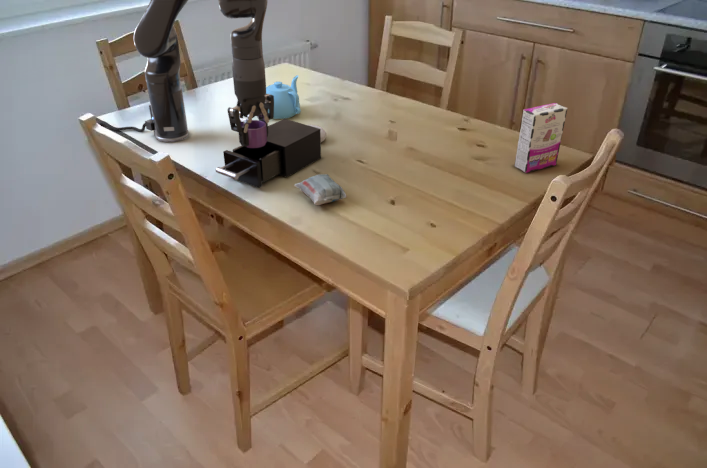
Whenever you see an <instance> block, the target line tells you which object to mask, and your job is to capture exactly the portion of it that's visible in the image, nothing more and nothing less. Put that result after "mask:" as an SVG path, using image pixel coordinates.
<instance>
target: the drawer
mask: <svg viewBox="0 0 707 468" xmlns="http://www.w3.org/2000/svg"><path fill="white" fill-rule="evenodd" d="M222 153H223V161H224V165H223V166H221V167H220V166H217V167H216V168H215V172H216V173H217V174H220V175H223V176H225V177H228V178H230V179H233V180H237V181H238V182H242V183H244V184H247V185H250V186H252V187H255V188H257V189H260V188H261V187H263V183H265V182H267V181H269V180H271V179H272V178H274V177H277V176H279V175H278V174H280V173H281V172H283V171H284V162H283V149H281V148H278V147H275V146H272V145H269V144H265V145H264V146H262V147H259V148H248V147H245V146H242V145H241V144H240V145H239V146H237V147H235V148H232V151H231V150H228V149H226V150H223V152H222Z"/></svg>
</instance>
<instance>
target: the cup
mask: <svg viewBox="0 0 707 468" xmlns="http://www.w3.org/2000/svg"><path fill="white" fill-rule="evenodd" d="M242 127H244V122H243V125H242ZM247 132H248V139H249V146H247V147H248V148H259V147H262V146H264V145H265V144H266V143H267V132H266V123H265V122H263V121H260V120H259V119H252V121H251V124H249V127H248V131H247Z"/></svg>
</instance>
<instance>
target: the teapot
mask: <svg viewBox="0 0 707 468" xmlns="http://www.w3.org/2000/svg"><path fill="white" fill-rule="evenodd" d="M298 79H299V75H294V77H292V80H291V83H290V85H289V84H285V83H283V82H282V81H274V82H273V83H272V84H269V85H266V94H270V95H273V96H274V117H273V119H274V120H283V119H290V118H292V117H295V115H299V114H301V111H302V109H301V104H300V96H299V94H298V87H297V81H298ZM268 113H269V109H268ZM273 119H272V120H273Z"/></svg>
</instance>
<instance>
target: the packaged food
mask: <svg viewBox="0 0 707 468" xmlns="http://www.w3.org/2000/svg"><path fill="white" fill-rule="evenodd" d="M293 186H294V187H296V188H297V189H299V190H300V191H301V192H302V193H304V195H306V196H307V197H308V198H310V200H311V201H312V202H313V205H314V206H320V205H323V204H329V203H332V202H338V201H340V200H343V199H346V198H347V197H348V196H347V194H346V192H345V190H344V189H343V187H342V186H341V185H339V183H337V182H336V181H335V180H334V179H332V178H331V177H330V175H329V174H327V173H322V174H321V173H319V174H316V175H312V176H310V177H307V178H306V179H303V180H302V181H300V182H297V183H294V184H293Z"/></svg>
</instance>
